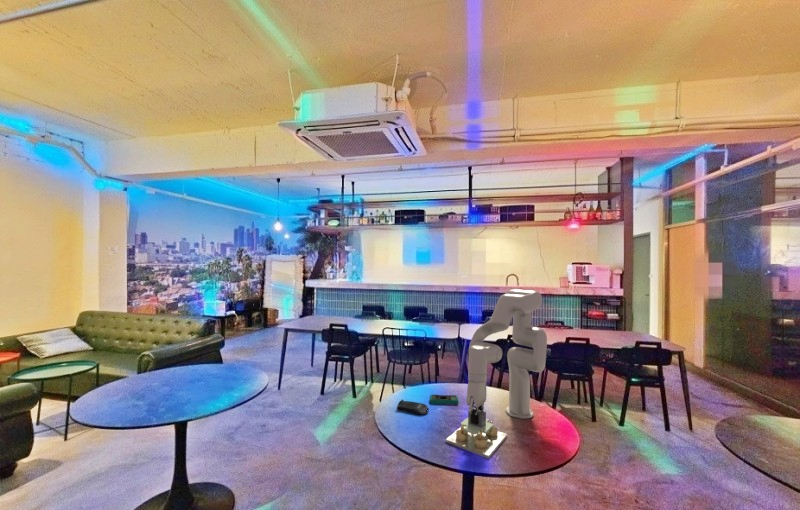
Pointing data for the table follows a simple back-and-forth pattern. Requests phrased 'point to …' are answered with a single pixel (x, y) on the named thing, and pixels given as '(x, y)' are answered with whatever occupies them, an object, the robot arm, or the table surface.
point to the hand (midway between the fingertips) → (477, 421)
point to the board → (476, 429)
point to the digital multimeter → (444, 399)
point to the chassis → (478, 440)
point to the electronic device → (412, 407)
